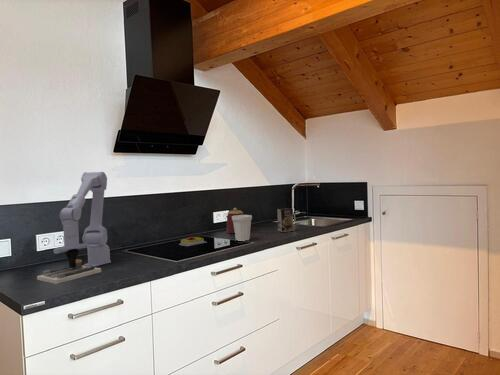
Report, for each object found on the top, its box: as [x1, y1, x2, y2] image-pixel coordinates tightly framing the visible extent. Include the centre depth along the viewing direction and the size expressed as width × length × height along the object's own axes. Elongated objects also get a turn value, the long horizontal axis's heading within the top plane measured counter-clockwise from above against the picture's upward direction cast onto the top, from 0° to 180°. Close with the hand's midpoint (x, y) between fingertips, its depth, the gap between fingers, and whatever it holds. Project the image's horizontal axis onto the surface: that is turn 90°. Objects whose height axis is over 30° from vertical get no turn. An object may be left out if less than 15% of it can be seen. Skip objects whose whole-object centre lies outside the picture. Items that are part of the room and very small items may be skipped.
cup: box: [232, 214, 253, 241], centre depth 222 cm, size 12×12×15 cm
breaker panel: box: [36, 265, 102, 285], centre depth 155 cm, size 20×14×3 cm
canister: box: [225, 207, 244, 234], centre depth 257 cm, size 13×13×18 cm
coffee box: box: [276, 208, 294, 232], centre depth 251 cm, size 9×6×16 cm
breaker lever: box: [72, 258, 83, 270], centre depth 157 cm, size 3×3×4 cm
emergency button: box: [178, 236, 207, 247], centre depth 221 cm, size 9×4×15 cm
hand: (72, 267), depth 156 cm, fingers closed, pressing on breaker lever
